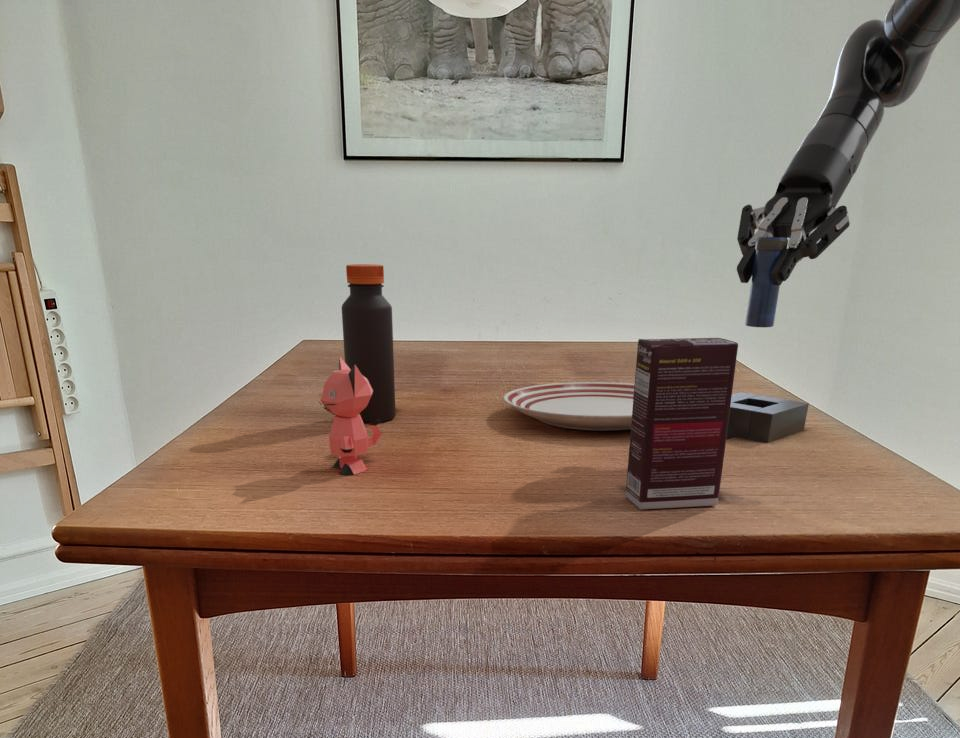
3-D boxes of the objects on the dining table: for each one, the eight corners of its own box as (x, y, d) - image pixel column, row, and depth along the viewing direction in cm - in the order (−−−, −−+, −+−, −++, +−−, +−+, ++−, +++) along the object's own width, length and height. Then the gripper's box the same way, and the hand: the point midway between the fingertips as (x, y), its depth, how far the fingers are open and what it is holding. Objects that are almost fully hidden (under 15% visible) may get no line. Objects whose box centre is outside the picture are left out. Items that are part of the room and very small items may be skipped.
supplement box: (699, 493, 89) (720, 336, 82) (718, 507, 85) (742, 343, 78) (621, 496, 88) (636, 337, 81) (637, 511, 84) (653, 344, 77)
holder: (802, 437, 112) (809, 403, 110) (766, 450, 106) (772, 414, 104) (735, 424, 119) (740, 392, 116) (697, 436, 112) (701, 402, 110)
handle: (780, 325, 105) (794, 237, 100) (765, 328, 103) (779, 238, 98) (752, 323, 107) (765, 236, 103) (738, 325, 105) (750, 237, 100)
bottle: (353, 424, 116) (344, 266, 107) (343, 414, 122) (334, 263, 113) (400, 421, 118) (395, 266, 109) (389, 411, 124) (384, 263, 115)
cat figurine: (316, 463, 98) (307, 356, 93) (372, 457, 101) (367, 353, 95) (332, 479, 93) (324, 366, 87) (391, 473, 95) (387, 363, 90)
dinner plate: (464, 414, 123) (464, 391, 121) (591, 392, 139) (592, 371, 137) (606, 452, 104) (608, 425, 103) (733, 421, 120) (736, 397, 119)
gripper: (762, 143, 105) (697, 253, 103) (876, 138, 96) (808, 258, 94) (775, 192, 111) (714, 297, 108) (884, 192, 102) (820, 306, 100)
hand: (758, 278), depth 101 cm, fingers closed on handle, 3 cm apart
